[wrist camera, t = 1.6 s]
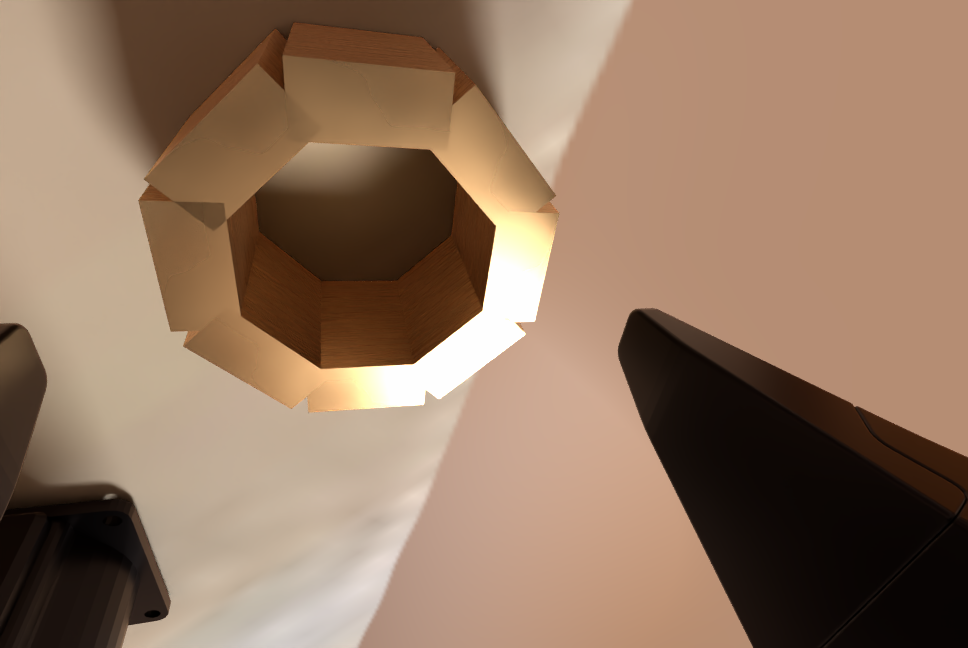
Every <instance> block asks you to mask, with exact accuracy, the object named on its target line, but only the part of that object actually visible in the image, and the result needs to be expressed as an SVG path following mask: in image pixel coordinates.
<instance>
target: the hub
mask: <svg viewBox="0 0 968 648" xmlns="http://www.w3.org/2000/svg"><path fill="white" fill-rule="evenodd" d="M309 142H315V143H331V144H348V145H364V146H380V147H397V148H413V149H429V150H431V151H432V152H433V153H434V154H435V156H436V157H437V158H438V159H439V160H440V161H441V163H442V164H443V165H444V166H445V167H446V168H447V170H448V171H449V172H450V173H451V174H452V175H453V177H454V178H455V179H456V180H457V187H456V196H455V205H454V214H453V224H452V233H451V236H450V237H449V238H447V239H446V240H445V241H444V242H443V243H441V244H440V245H439V246H438V247H437V248H435V249H434V250H433V251H432V252H430V253H429V254H428V255H427V256H426V257H424V258H423V259H422V260H421V261H420V262H418V263H417V264H416V265H415V266H414V267H412V268H411V269H410V270H409V271H408V272H406V273H405V274H404V275H403V276H401V277H400V278H399V279H398V280H397V281H321V280H320V279H318V278H317V277H316V276H315V275H313V274H312V273H311V272H310V271H308V270H307V269H306V268H305V267H303V266H302V265H301V264H299V263H298V262H297V261H296V260H294V259H293V258H292V257H291V256H289V255H288V254H287V253H286V252H284V251H283V250H282V249H280V248H279V247H278V246H277V245H275V244H274V243H273V242H272V241H270V240H269V239H268V238H266V237H265V236H264V235H263V234H261V233H260V232H259V224H258V215H257V206H256V198H255V193H256V192H257V191H258V190H259V189H260V188H261V187H262V186H263V185H264V184H265V183H266V182H267V181H268V180H269V179H270V178H271V177H273V176H274V175H275V174H276V173H277V172H278V171H279V170H280V169H281V168H282V167H283V166H284V165H285V164H286V163H287V162H288V161H289V160H291V159H292V158H293V157H294V156H295V155H296V154H297V153H298V152H299V151H300V150H301V149H302V148H303V147H304V146H305V145H306V144H307V143H309ZM144 180H145V181H147V182H148V183H149V186H148V187H147V189H146V190H145V192H144V193H143V194H142V196H141V197H140V199H139V200H138V201H139V205H140V209H141V213H142V217H143V221H144V225H145V229H146V233H147V237H148V241H149V245H150V249H151V253H152V257H153V261H154V265H155V270H156V274H157V278H158V282H159V286H160V290H161V294H162V298H163V302H164V306H165V310H166V314H167V318H168V322H169V326H170V330H171V332H173V331H188V333H187V336H186V339H185V342H184V345H183V346H184V347H185V348H187V349H189V350H190V351H192V352H194V353H196V354H197V355H199V356H201V357H203V358H204V359H206V360H208V361H209V362H211V363H213V364H215V365H216V366H218V367H220V368H222V369H223V370H225V371H227V372H228V373H230V374H232V375H234V376H235V377H237V378H239V379H241V380H242V381H244V382H246V383H247V384H249V385H251V386H253V387H254V388H256V389H258V390H260V391H261V392H263V393H265V394H267V395H268V396H270V397H272V398H273V399H275V400H277V401H279V402H280V403H282V404H284V405H286V406H287V407H289V408H291V409H292V408H293V407H294V406H296V405H297V404H298V403H299V402H301V401H302V400H303V399H304V398H305V397H308V411H309V412H323V411H337V410H352V409H366V408H381V407H395V406H410V405H424V397H425V389H426V390H428V391H429V392H430V393H432V394H433V395H434V396H436V397H437V398H438V399H440V398H441V397H442V396H444V395H445V394H446V393H448V392H449V391H450V390H452V389H453V388H454V387H456V386H457V385H458V384H460V383H461V382H462V381H464V380H465V379H466V378H468V377H469V376H470V375H472V374H473V373H474V372H476V371H477V370H478V369H480V368H481V367H482V366H484V365H485V364H486V363H488V362H489V361H490V360H492V359H493V358H494V357H496V356H497V355H499V354H500V353H501V352H502V351H504V350H505V349H507V348H508V347H509V346H510V345H512V344H513V343H514V342H516V341H517V340H519V339H520V338H521V337H523V336H524V335H525V332H524V330H523V328H522V326H521V324H520V322H525V321H527V322H528V321H535V317H536V313H537V308H538V304H539V300H540V295H541V290H542V286H543V282H544V277H545V273H546V269H547V265H548V260H549V256H550V251H551V247H552V243H553V238H554V234H555V230H556V224H557V221H558V217H559V212H558V211H557V210H556V209H555V208H554V206H553V205H552V204H551V203H550V202H549V201H550V200H552V199H553V198H554V197H555V196H556V195H555V193H554V192H553V191H552V189H551V188H550V187H549V185H548V184H547V182H546V181H545V180H544V178H543V177H542V176H541V174H540V173H539V171H538V170H537V169H536V167H535V166H534V165H533V163H532V162H531V160H530V159H529V158H528V156H527V155H526V153H525V152H524V151H523V149H522V148H521V147H520V145H519V144H518V142H517V141H516V140H515V138H514V137H513V136H512V134H511V133H510V131H509V130H508V129H507V127H506V126H505V124H504V123H503V122H502V120H501V119H500V118H499V116H498V115H497V113H496V112H495V111H494V109H493V108H492V107H491V105H490V104H489V102H488V101H487V100H486V98H485V97H484V95H483V94H482V93H481V91H480V90H479V89H478V87H477V86H476V84H475V83H474V82H473V81H472V80H471V79H470V78H469V77H468V76H467V75H466V74H465V73H464V72H463V71H462V70H461V69H460V68H459V67H458V66H457V65H456V64H455V63H454V62H453V61H452V60H451V59H450V58H449V57H448V56H447V55H446V54H445V53H444V52H443V51H442V50H441V49H440V48H439V47H438V48H437V49H436V50H434V49H433V48H432V47H431V46H430V45H429V44H428V43H427V42H426V41H425V39H424V38H423V37H415V36H407V35H398V34H390V33H381V32H373V31H365V30H356V29H348V28H339V27H331V26H322V25H314V24H305V23H297V22H294V23H293V26H292V29H291V32H290V34H289V37H288V40H286V39H285V38H284V37H283V36H282V35H281V34H280V33H279V31H278V30H277V29H276V28H275V29H274V30H273V31H272V32H271V33H270V34H269V35H268V36H267V37H266V39H265V40H264V41H263V42H262V43H261V44H260V45H259V46H258V47H257V48H256V49H255V50H254V51H253V52H252V53H251V54H250V55H249V56H248V57H247V58H246V59H245V60H244V61H243V62H242V63H241V64H240V65H239V66H238V67H237V68H236V69H235V70H234V71H233V72H232V73H231V74H230V76H229V77H228V78H227V79H226V80H225V81H224V82H223V83H222V84H221V85H220V86H219V87H218V88H217V89H216V90H215V91H214V92H213V93H212V94H211V95H210V96H209V97H208V98H207V99H206V100H205V101H204V102H203V103H202V104H201V105H200V106H199V107H198V108H197V109H196V110H195V112H194V113H193V114H192V115H191V116H190V117H189V118H188V120H187V121H186V122H185V124H184V125H183V126H182V128H181V129H180V130H179V132H178V133H177V135H176V136H175V137H174V139H173V140H172V141H171V143H170V144H169V145H168V147H167V148H166V150H165V151H164V152H163V154H162V155H161V156H160V158H159V159H158V160H157V162H156V163H155V165H154V166H153V167H152V169H151V170H150V171H149V173H148V174H147V175H146V177H145V178H144Z"/></svg>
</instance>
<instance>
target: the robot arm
mask: <svg viewBox="0 0 968 648" xmlns="http://www.w3.org/2000/svg"><path fill="white" fill-rule="evenodd" d="M618 357H619V361H620V364H621V366H622V369H623V372H624V374H625V377H626V380H627V382H628V385H629V388H630V391H631V393H632V396H633V399H634V401H635V404H636V407H637V410H638V412H639V415H640V418H641V420H642V422H643V425H644V428H645V430H646V432H647V434H648V436H649V439H650V441H651V443H652V445H653V447H654V449H655V451H656V453H657V455H658V457H659V459H660V461H661V463H662V465H663V467H664V469H665V471H666V473H667V475H668V477H669V479H670V481H671V483H672V485H673V487H674V489H675V491H676V493H677V495H678V497H679V499H680V501H681V503H682V505H683V507H684V509H685V511H686V513H687V515H688V517H689V519H690V521H691V523H692V525H693V527H694V529H695V531H696V533H697V535H698V538H699V539H700V542H701V544H702V546H703V548H704V550H705V552H706V554H707V556H708V558H709V560H710V562H711V564H712V566H713V568H714V570H715V572H716V574H717V576H718V578H719V580H720V582H721V584H722V586H723V588H724V590H725V592H726V594H727V596H728V598H729V600H730V602H731V604H732V606H733V608H734V610H735V612H736V614H737V616H738V618H739V620H740V622H741V624H742V626H743V628H744V630H745V632H746V634H747V636H748V638H749V640H750V642H751V644H752V646H753V648H968V457H966V456H964V455H962V454H959V453H957V452H955V451H953V450H950V449H948V448H946V447H944V446H941V445H939V444H937V443H935V442H932V441H930V440H928V439H926V438H923V437H921V436H919V435H917V434H915V433H913V432H911V431H908V430H906V429H904V428H902V427H900V426H898V425H895V424H894V423H891V422H889V421H887V420H885V419H883V418H881V417H879V416H877V415H875V414H873V413H871V412H868V411H866V410H864V409H862V408H860V407H858V406H856V407H854V406H853V404H851V403H850V402H848V401H846V400H844V399H841V398H839V397H837V396H835V395H833V394H831V393H829V392H827V391H825V390H823V389H821V388H819V387H817V386H815V385H813V384H810V383H808V382H806V381H804V380H802V379H800V378H798V377H796V376H794V375H792V374H790V373H788V372H786V371H784V370H782V369H780V368H778V367H776V366H773V365H771V364H769V363H767V362H765V361H763V360H761V359H759V358H757V357H755V356H752V355H751V354H749V353H747V352H745V351H743V350H740V349H738V348H736V347H734V346H732V345H730V344H728V343H726V342H724V341H722V340H720V339H718V338H716V337H714V336H711V335H710V334H707V333H705V332H703V331H701V330H699V329H697V328H695V327H693V326H691V325H689V324H687V323H685V322H683V321H680V320H678V319H676V318H675V317H672V316H670V315H668V314H666V313H664V312H662V311H660V310H658V309H654V308H645V309H635V310H633V311H632V312H631V313H630V315H629V317H628V320H627V323H626V326H625V328H624V332H623V335H622V337H621V340H620V343H619V346H618ZM46 387H47V375H46V371H45V368H44V366H43V364H42V361H41V359H40V357H39V354H38V352H37V350H36V347H35V345H34V343H33V340H32V338H31V336H30V334H29V332H28V330H27V329H26V328H25V327H24V326H22V325H20V324H17V323H6V324H0V648H122V645H123V641H124V638H125V634H126V631H127V627H128V625H133V624H139V623H146V622H152V621H157V620H161V619H163V618H165V617H166V616H167V615H168V613H169V608H170V604H171V600H170V597H169V595H168V592H167V590H166V587H165V584H164V582H163V579H162V577H161V574H160V571H159V569H158V566H157V564H156V561H155V558H154V556H153V553H152V550H151V548H150V545H149V543H148V540H147V537H146V535H145V532H144V530H143V527H142V524H141V522H140V519H139V516H138V514H137V511H136V509H135V507H134V506H133V504H132V503H130V502H128V501H125V500H121V499H110V500H100V501H90V502H80V503H70V504H61V505H51V506H41V507H31V508H21V509H11V510H6V508H7V506H8V504H9V501H10V499H11V497H12V494H13V492H14V489H15V487H16V484H17V481H18V478H19V475H20V472H21V469H22V466H23V463H24V460H25V456H26V453H27V450H28V447H29V443H30V440H31V437H32V434H33V430H34V427H35V424H36V421H37V417H38V414H39V411H40V408H41V404H42V401H43V398H44V395H45V391H46Z"/></svg>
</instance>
